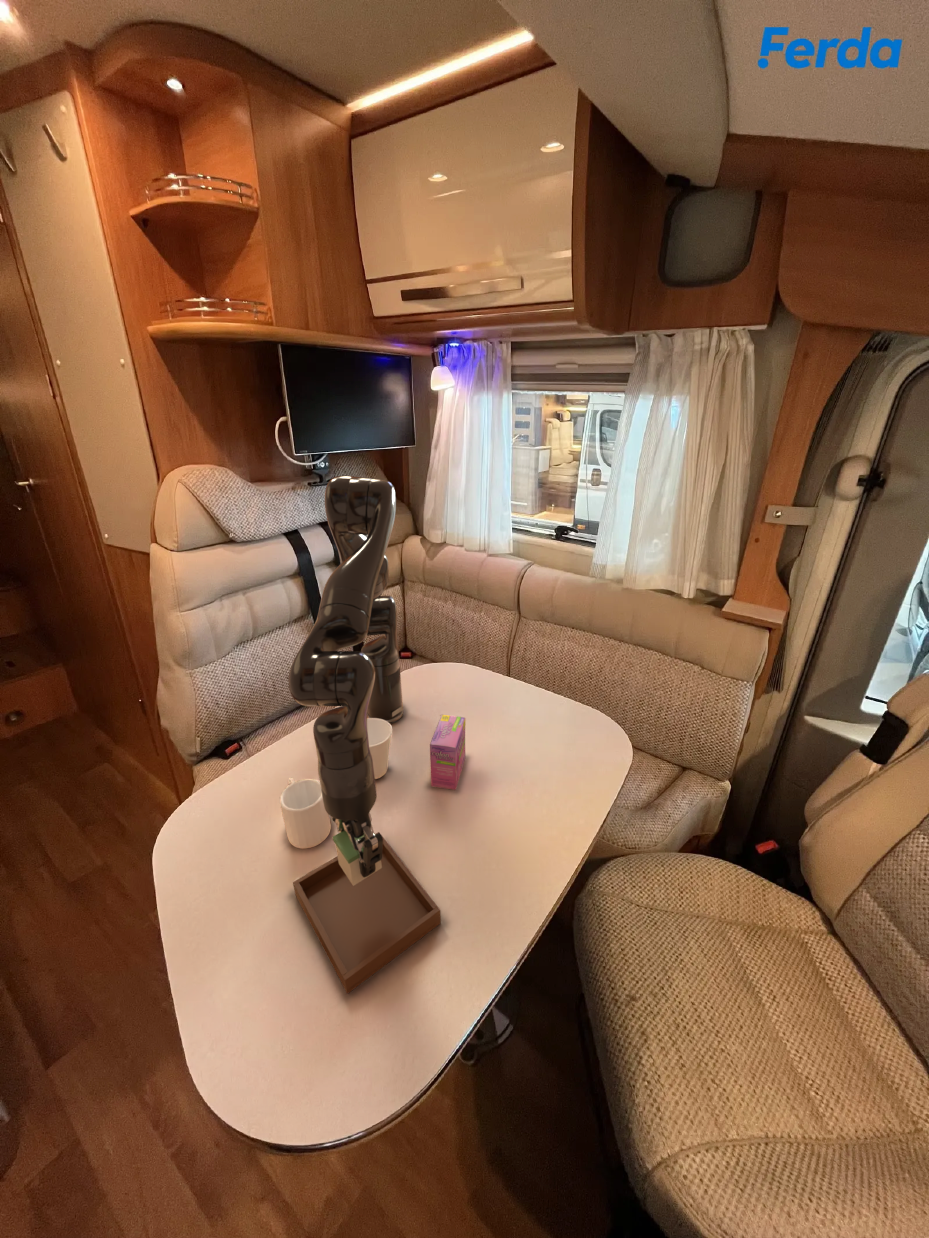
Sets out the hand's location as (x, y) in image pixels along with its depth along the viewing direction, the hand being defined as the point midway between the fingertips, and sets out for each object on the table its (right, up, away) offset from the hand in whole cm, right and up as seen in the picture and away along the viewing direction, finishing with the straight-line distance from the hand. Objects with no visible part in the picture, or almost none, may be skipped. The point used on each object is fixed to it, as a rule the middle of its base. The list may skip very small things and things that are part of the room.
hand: (359, 859), depth 78 cm
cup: (-4, +3, +34) cm, 35 cm away
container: (0, -1, +1) cm, 1 cm away
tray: (0, -11, +5) cm, 12 cm away
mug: (-15, -3, +21) cm, 26 cm away
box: (+13, +3, +34) cm, 37 cm away
